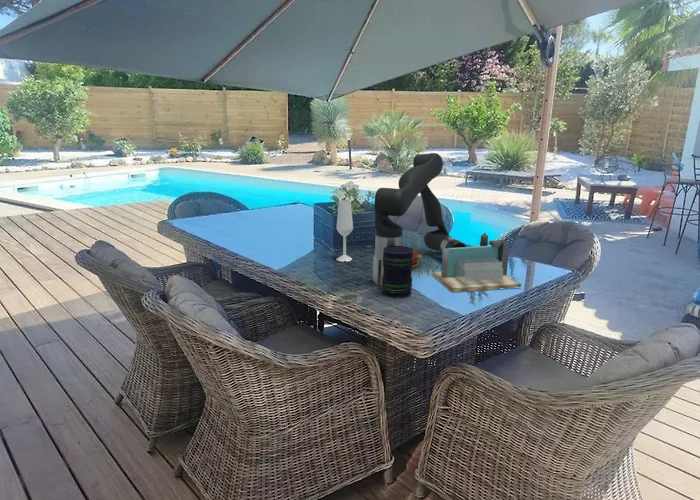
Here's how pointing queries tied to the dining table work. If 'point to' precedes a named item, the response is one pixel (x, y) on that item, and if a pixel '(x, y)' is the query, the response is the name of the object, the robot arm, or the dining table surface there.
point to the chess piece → (484, 240)
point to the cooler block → (484, 266)
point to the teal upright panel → (464, 256)
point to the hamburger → (415, 259)
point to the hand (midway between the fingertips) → (474, 261)
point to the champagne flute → (344, 225)
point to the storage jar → (397, 271)
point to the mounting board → (458, 286)
